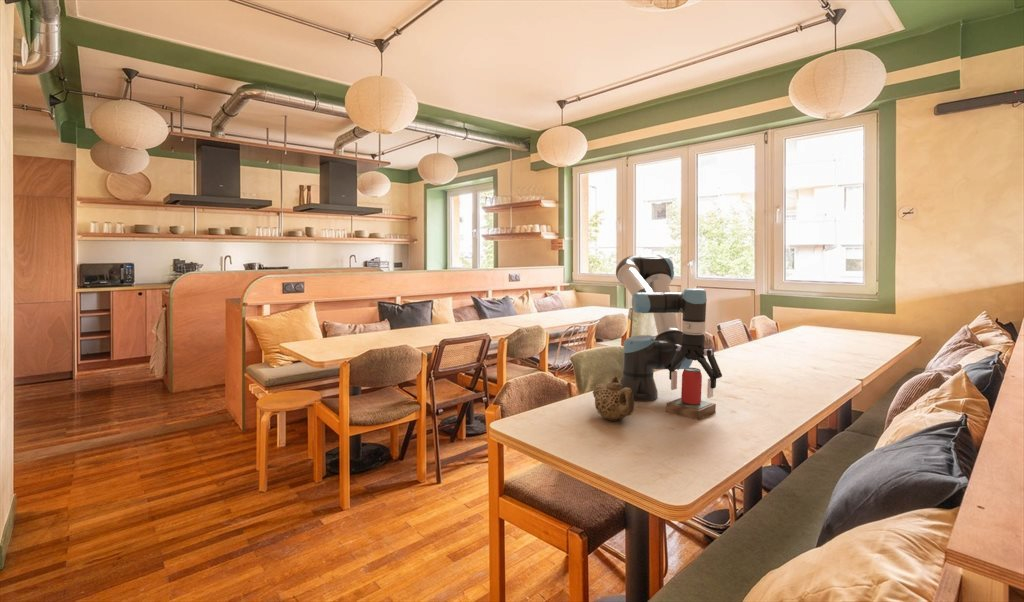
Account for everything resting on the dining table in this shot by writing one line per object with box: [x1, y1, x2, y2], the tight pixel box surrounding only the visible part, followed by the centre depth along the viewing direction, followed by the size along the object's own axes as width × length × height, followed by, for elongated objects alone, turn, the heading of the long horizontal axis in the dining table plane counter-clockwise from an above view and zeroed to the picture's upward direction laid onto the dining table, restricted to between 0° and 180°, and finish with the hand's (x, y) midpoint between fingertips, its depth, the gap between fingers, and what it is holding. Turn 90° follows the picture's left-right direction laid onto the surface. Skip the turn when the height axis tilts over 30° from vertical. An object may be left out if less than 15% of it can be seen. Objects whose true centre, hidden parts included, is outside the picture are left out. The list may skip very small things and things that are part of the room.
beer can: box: [680, 367, 703, 405], centre depth 173 cm, size 7×7×12 cm
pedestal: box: [666, 397, 717, 421], centre depth 173 cm, size 12×12×3 cm
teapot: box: [592, 375, 635, 422], centre depth 164 cm, size 21×12×15 cm, turn 23°
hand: (691, 393), depth 173 cm, fingers open, 13 cm apart
